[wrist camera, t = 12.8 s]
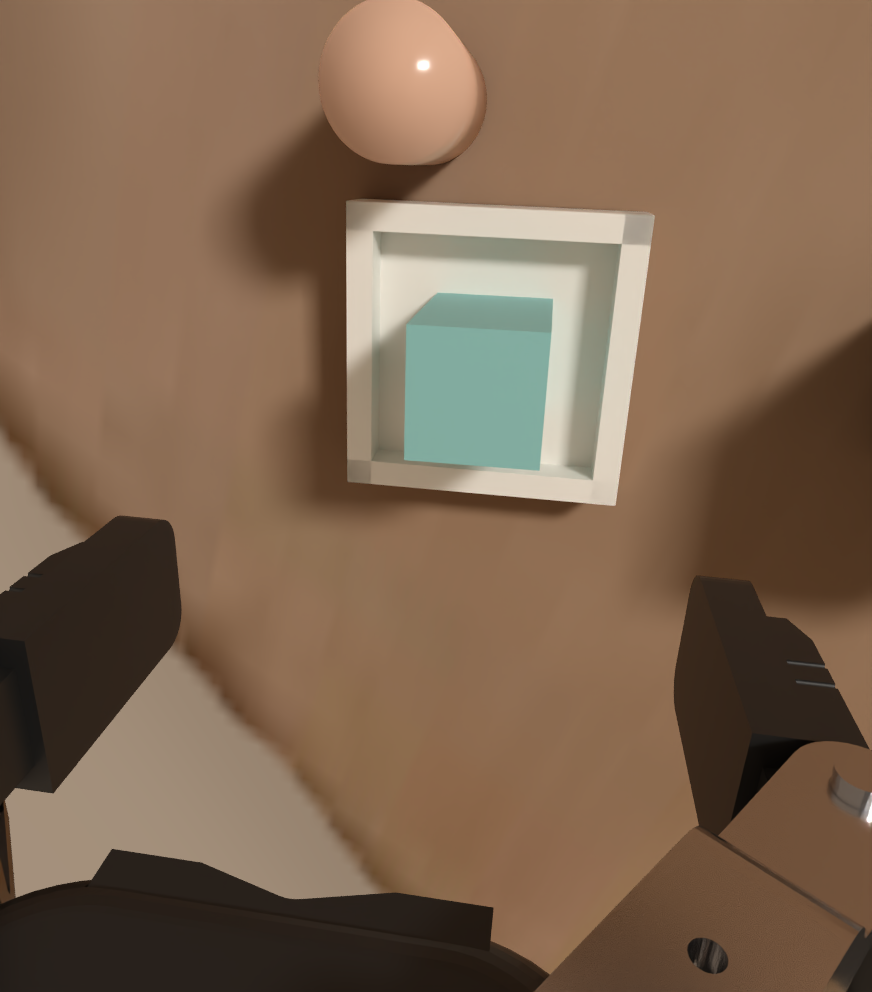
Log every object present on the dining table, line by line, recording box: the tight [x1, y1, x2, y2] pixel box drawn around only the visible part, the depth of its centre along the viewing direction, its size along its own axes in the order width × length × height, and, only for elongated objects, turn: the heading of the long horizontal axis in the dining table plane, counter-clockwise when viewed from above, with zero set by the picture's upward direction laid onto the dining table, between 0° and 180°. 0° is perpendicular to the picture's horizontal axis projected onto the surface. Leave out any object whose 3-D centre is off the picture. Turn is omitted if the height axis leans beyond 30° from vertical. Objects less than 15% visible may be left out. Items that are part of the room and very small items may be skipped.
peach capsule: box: [318, 0, 487, 165], centre depth 27 cm, size 4×4×7 cm
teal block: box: [404, 293, 553, 471], centre depth 29 cm, size 4×4×7 cm
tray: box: [346, 199, 655, 506], centre depth 32 cm, size 11×11×2 cm
